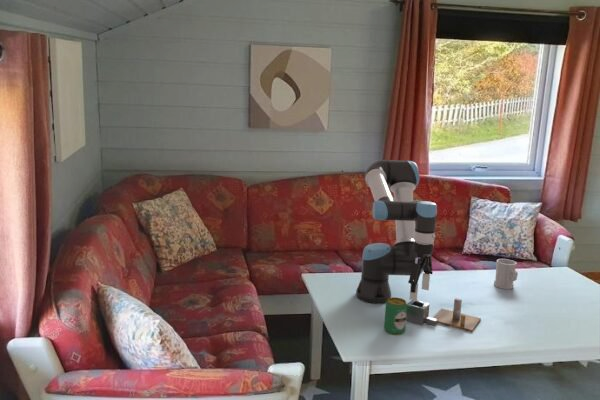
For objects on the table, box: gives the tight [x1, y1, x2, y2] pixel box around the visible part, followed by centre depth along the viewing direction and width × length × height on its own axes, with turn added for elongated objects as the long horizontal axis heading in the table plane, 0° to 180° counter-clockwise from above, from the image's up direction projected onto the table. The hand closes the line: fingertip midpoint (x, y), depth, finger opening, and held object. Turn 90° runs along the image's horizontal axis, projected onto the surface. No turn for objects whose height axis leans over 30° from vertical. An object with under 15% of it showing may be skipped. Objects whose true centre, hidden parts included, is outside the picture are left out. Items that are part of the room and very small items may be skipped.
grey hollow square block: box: [406, 299, 438, 328], centre depth 215 cm, size 11×7×7 cm, turn 58°
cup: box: [493, 258, 519, 290], centre depth 257 cm, size 10×9×12 cm
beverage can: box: [383, 297, 408, 336], centre depth 206 cm, size 8×8×12 cm
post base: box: [432, 298, 482, 333], centre depth 217 cm, size 16×13×9 cm
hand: (419, 294), depth 214 cm, fingers open, 13 cm apart
